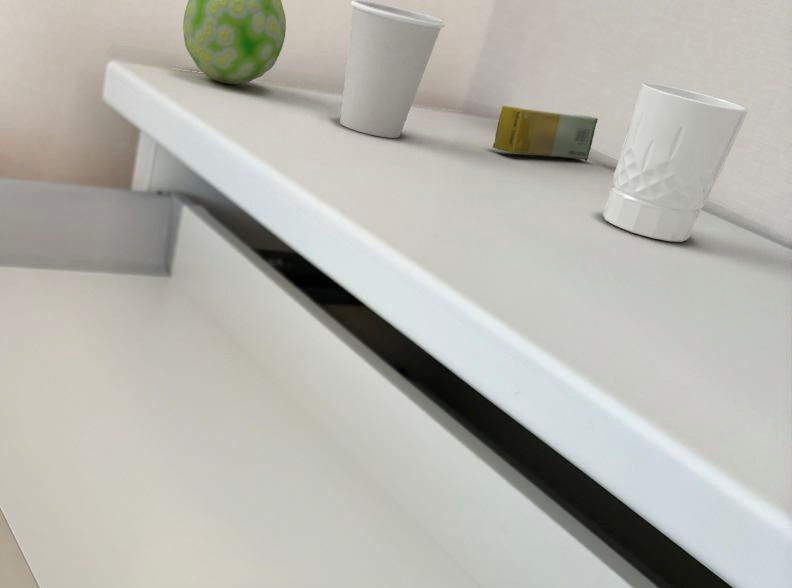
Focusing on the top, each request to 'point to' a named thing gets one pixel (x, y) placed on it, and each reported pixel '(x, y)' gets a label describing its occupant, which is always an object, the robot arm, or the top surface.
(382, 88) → the dixie cup
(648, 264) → the top surface
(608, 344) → the top surface
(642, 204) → the white cup
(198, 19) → the decorative ball
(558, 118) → the medication box
